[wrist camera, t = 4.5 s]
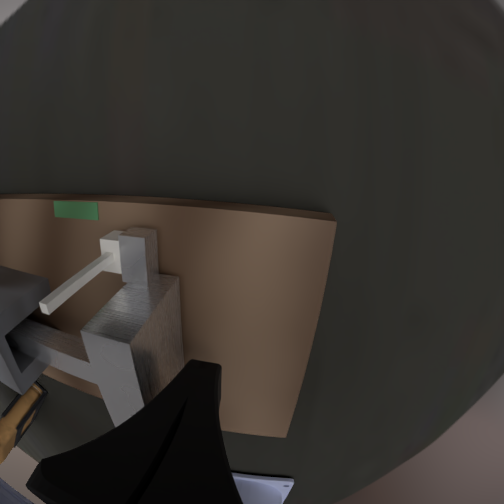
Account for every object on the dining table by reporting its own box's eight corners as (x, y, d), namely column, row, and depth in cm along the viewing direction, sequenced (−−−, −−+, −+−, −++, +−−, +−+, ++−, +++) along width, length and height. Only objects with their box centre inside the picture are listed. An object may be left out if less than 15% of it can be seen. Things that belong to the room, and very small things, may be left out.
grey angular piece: (178, 231, 10) (119, 284, 6) (188, 402, 13) (164, 467, 9) (5, 216, 10) (-53, 243, 7) (42, 355, 14) (6, 394, 10)
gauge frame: (331, 213, 10) (381, 297, 5) (286, 421, 15) (280, 515, 9) (-42, 195, 12) (-102, 221, 6) (-7, 333, 17) (-49, 372, 11)
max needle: (132, 232, 10) (48, 290, 6) (134, 262, 10) (60, 332, 6) (114, 230, 10) (28, 284, 6) (116, 260, 10) (40, 324, 6)
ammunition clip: (32, 376, 17) (-39, 468, 6) (48, 391, 18) (-20, 486, 7) (22, 408, 21) (-26, 475, 10) (34, 419, 21) (-12, 488, 10)
